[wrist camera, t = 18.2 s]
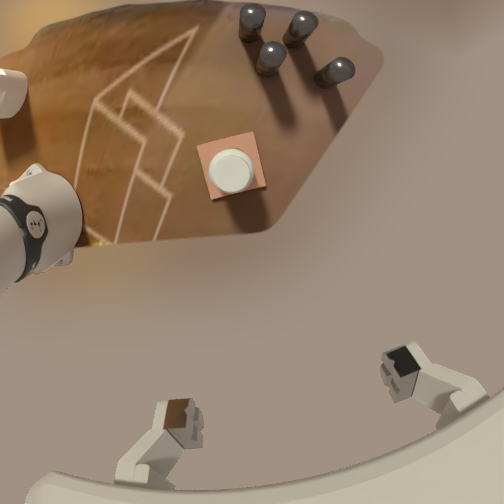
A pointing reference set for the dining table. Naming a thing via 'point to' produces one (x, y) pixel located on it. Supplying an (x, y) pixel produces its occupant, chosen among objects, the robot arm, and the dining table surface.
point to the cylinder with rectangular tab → (12, 92)
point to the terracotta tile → (238, 141)
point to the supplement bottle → (231, 170)
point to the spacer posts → (289, 45)
